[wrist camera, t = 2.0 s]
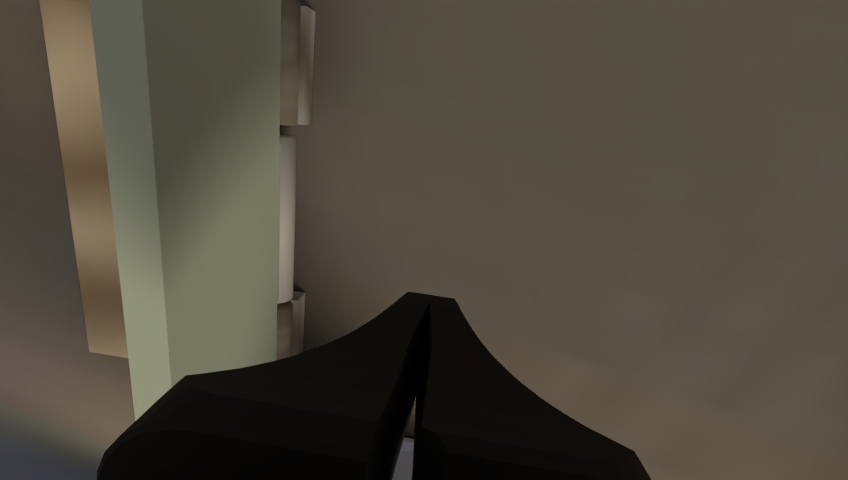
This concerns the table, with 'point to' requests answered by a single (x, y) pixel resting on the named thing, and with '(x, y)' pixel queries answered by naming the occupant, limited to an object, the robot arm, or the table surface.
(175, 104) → the hinge leaf
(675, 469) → the table surface
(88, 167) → the base leaf
